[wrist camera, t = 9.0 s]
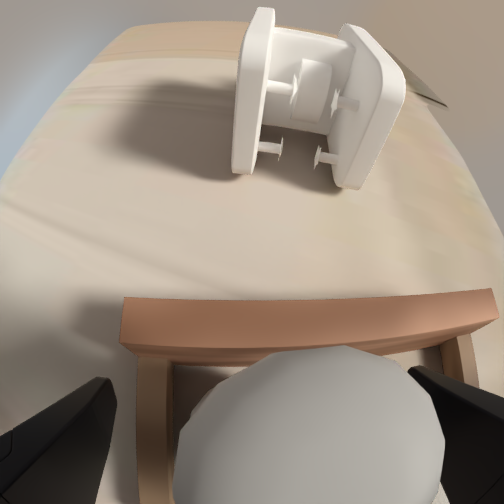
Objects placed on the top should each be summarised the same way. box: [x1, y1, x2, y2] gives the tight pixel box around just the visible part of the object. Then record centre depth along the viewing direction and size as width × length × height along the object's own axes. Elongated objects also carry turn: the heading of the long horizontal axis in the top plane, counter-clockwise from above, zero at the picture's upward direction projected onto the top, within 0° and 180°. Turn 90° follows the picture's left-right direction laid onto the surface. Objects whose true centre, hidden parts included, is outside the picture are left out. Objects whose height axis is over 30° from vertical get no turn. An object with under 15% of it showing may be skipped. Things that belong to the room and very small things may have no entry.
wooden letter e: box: [119, 288, 499, 504], centre depth 12 cm, size 12×20×5 cm, turn 92°
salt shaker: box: [172, 345, 445, 504], centre depth 8 cm, size 6×6×13 cm
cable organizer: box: [231, 7, 406, 190], centre depth 21 cm, size 15×11×12 cm
